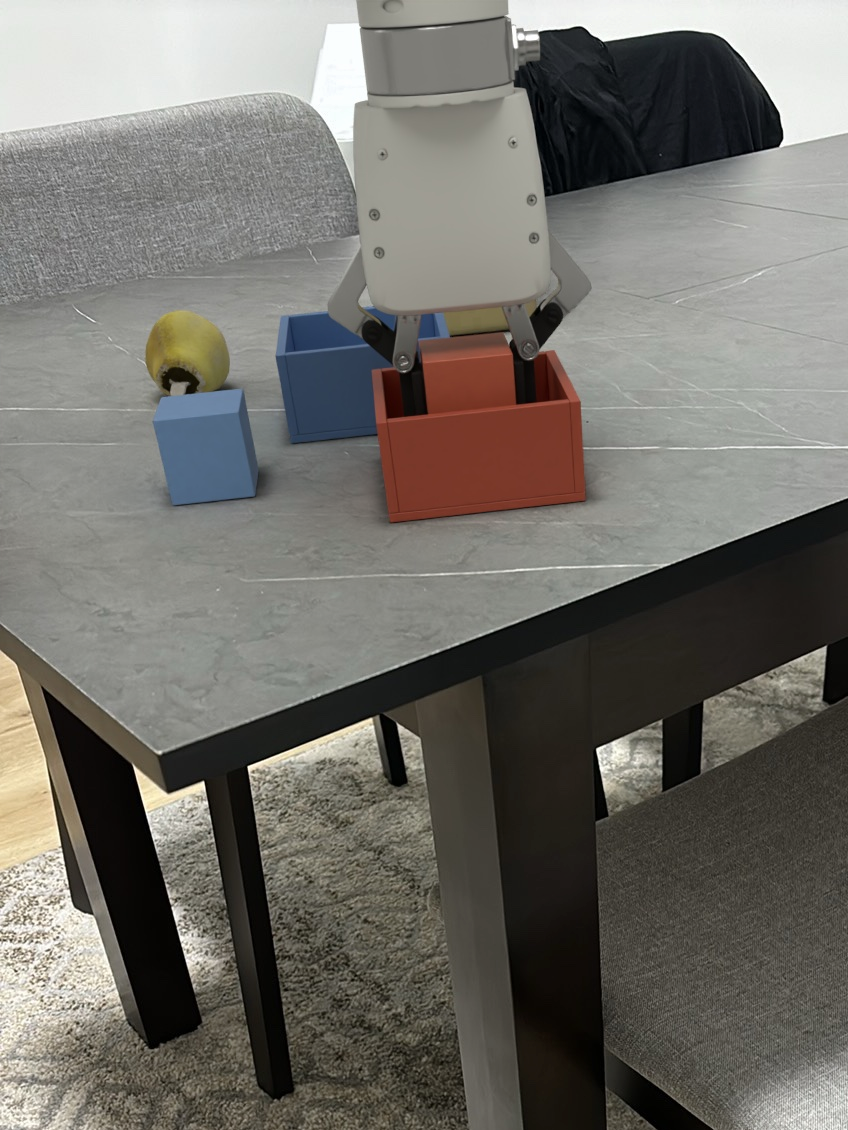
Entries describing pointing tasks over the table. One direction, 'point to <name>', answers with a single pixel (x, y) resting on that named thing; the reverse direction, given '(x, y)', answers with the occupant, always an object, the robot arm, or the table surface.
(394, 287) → the robot arm
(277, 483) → the table surface
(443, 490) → the red bin
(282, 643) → the table surface
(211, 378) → the mushroom
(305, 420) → the blue bin
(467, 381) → the red block
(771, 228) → the table surface
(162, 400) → the blue block
